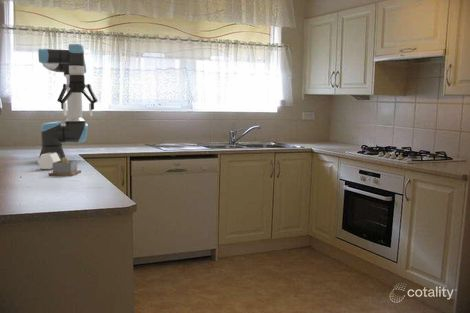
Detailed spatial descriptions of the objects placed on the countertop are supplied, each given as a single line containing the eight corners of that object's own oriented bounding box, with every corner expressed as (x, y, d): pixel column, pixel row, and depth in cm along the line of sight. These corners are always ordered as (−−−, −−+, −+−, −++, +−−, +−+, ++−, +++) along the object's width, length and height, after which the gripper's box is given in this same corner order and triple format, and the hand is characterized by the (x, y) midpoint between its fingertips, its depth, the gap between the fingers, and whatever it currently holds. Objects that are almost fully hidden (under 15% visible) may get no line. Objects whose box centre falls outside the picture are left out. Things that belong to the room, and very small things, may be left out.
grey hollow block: (59, 170, 254) (59, 160, 254) (77, 170, 254) (76, 161, 254) (52, 173, 245) (52, 163, 245) (71, 173, 245) (70, 163, 245)
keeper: (57, 172, 256) (57, 156, 255) (80, 172, 256) (80, 156, 255) (48, 175, 244) (47, 159, 243) (72, 175, 244) (72, 159, 243)
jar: (54, 169, 264) (62, 166, 276) (53, 154, 263) (62, 152, 275) (37, 169, 264) (46, 166, 276) (36, 154, 263) (46, 151, 275)
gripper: (49, 74, 253) (51, 115, 256) (98, 74, 253) (99, 116, 255) (55, 74, 261) (56, 115, 263) (103, 75, 260) (103, 115, 263)
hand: (77, 115), depth 259 cm, fingers open, 13 cm apart
